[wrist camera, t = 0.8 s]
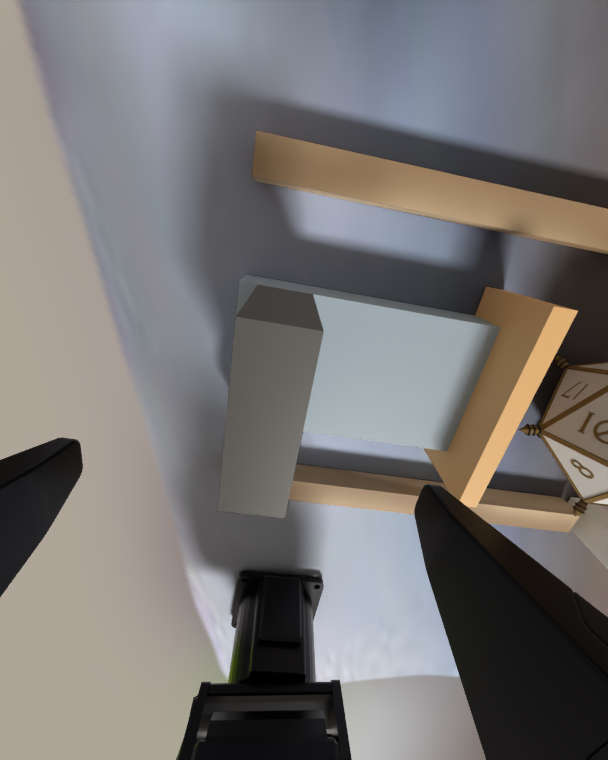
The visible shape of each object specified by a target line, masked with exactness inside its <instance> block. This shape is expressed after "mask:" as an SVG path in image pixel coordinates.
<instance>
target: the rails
mask: <svg viewBox="0 0 608 760" xmlns="http://www.w3.org/2000/svg"><path fill="white" fill-rule="evenodd" d="M252 177H253V178H254V179H255V181H257V182H262V183H267V184H272V185H276V186H281V187H286V188H291V189H296V190H300V191H305V192H310V193H315V194H320V195H324V196H329V197H334V198H339V199H344V200H348V201H353V202H358V203H363V204H368V205H372V206H377V207H382V208H387V209H392V210H396V211H401V212H406V213H411V214H416V215H420V216H425V217H430V218H435V219H440V220H444V221H449V222H454V223H459V224H464V225H468V226H473V227H478V228H483V229H488V230H492V231H497V232H502V233H507V234H512V235H516V236H521V237H526V238H531V239H536V240H540V241H545V242H550V243H555V244H560V245H564V246H569V247H574V248H579V249H584V250H588V251H593V252H598V253H603V254H608V209H606V208H602V207H597V206H593V205H588V204H584V203H579V202H575V201H570V200H566V199H561V198H557V197H552V196H548V195H543V194H539V193H535V192H530V191H526V190H521V189H517V188H512V187H508V186H503V185H499V184H494V183H490V182H485V181H481V180H476V179H472V178H467V177H463V176H458V175H454V174H449V173H445V172H440V171H436V170H432V169H427V168H423V167H418V166H414V165H409V164H405V163H400V162H396V161H391V160H387V159H382V158H378V157H373V156H369V155H364V154H360V153H355V152H351V151H346V150H342V149H337V148H333V147H328V146H324V145H320V144H315V143H311V142H306V141H302V140H297V139H293V138H288V137H284V136H279V135H275V134H270V133H266V132H261V131H257V130H256V138H255V148H254V158H253V168H252ZM425 484H433V485H439V486H442V487H443V488H444V489H445V490H447V491H448V489H447V487H446V485H445V484H444V483H443V482H435V481H427V480H419V479H411V478H403V477H395V476H388V475H380V474H372V473H364V472H356V471H348V470H340V469H332V468H324V467H317V466H309V465H301V464H296V467H295V472H294V477H293V481H292V486H291V491H290V496H289V500H294V501H303V502H311V503H320V504H328V505H337V506H346V507H354V508H363V509H372V510H380V511H389V512H397V513H406V514H414V509H415V505H416V502H417V500H418V497H419V495H420V493H421V490H422V488H423V486H424V485H425ZM448 492H449V491H448ZM449 493H450V492H449ZM468 508H470V509H471V510H472V511H473V512H475V513H476V514H477V515H478V516H480V517H481V518H482V519H483V520H485V521H486V522H487V523H492V524H501V525H510V526H518V527H527V528H535V529H544V530H553V531H561V532H570V530H571V529H572V527H573V526H574V525H575V523H576V522H577V520H578V519H579V517H580V515H578V516H575V517H574V511H573V508H572V507H571V506H570V505H569V504H568V503H567V502H566V501H565V500H564V499H563V498H561V497H553V496H545V495H537V494H529V493H522V492H514V491H506V490H498V489H490V488H486V490H485V491H484V493H483V495H482V497H481V499H480V501H479V503H478V505H477V507H476V508H475V507H468Z"/></svg>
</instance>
